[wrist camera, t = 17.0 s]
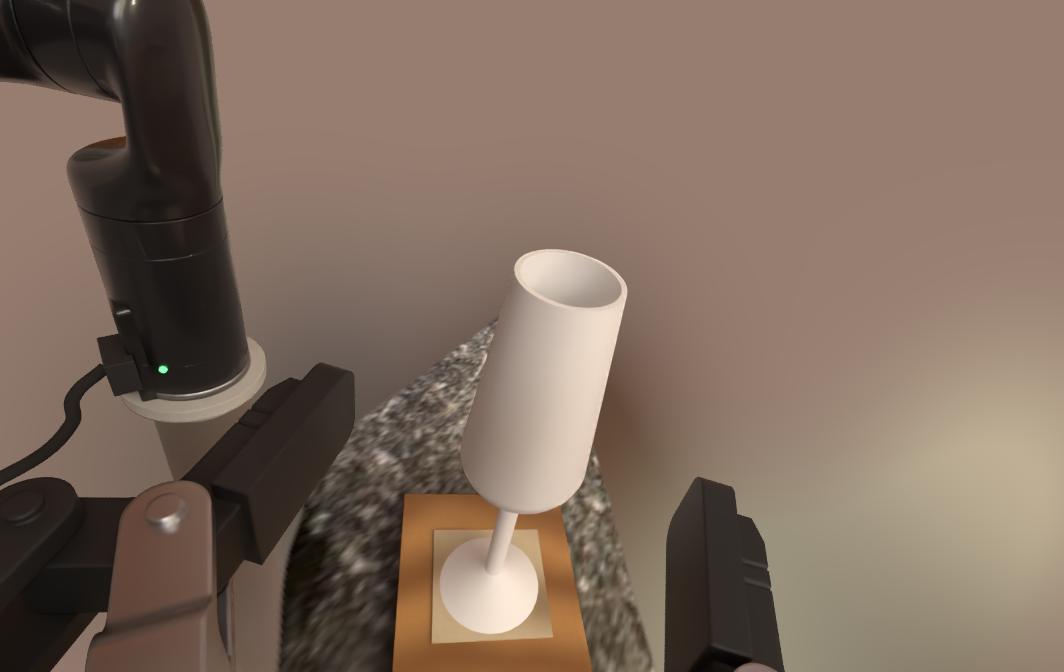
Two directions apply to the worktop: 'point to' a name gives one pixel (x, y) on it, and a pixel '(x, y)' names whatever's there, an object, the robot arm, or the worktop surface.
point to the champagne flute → (532, 423)
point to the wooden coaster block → (447, 646)
